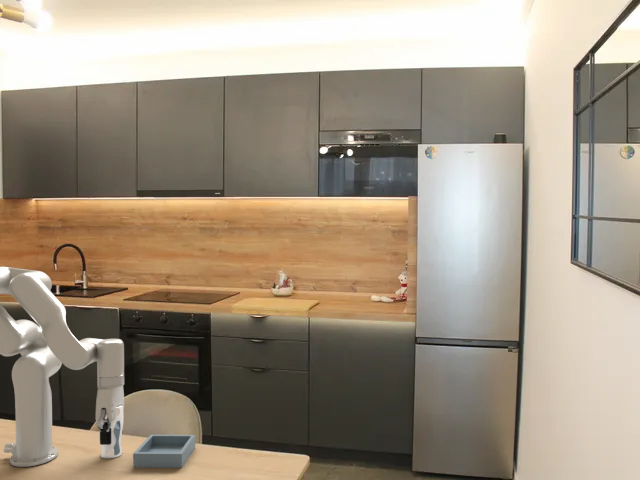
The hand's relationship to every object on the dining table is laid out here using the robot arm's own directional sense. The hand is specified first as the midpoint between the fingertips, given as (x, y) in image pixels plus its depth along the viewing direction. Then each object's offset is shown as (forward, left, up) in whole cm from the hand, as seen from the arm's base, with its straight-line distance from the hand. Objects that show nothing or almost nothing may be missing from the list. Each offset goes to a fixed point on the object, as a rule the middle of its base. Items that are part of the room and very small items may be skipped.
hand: (111, 438), depth 157 cm
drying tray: (+17, -2, -5) cm, 18 cm away
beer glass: (0, 0, -5) cm, 5 cm away
